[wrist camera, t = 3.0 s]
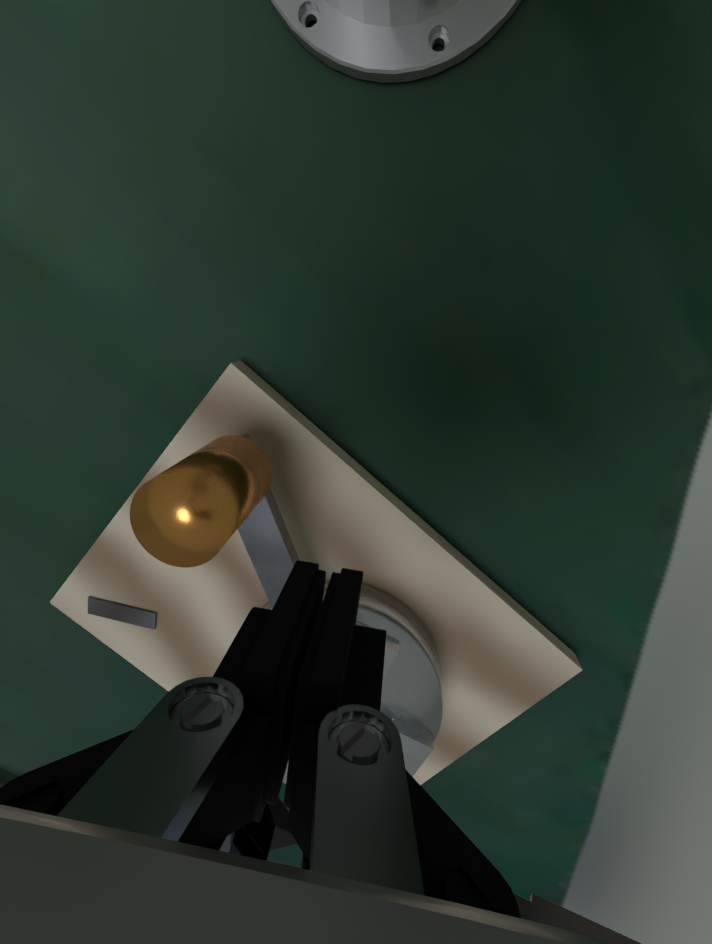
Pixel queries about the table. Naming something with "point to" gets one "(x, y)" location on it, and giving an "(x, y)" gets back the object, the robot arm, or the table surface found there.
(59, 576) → the table surface
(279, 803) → the black stand with base
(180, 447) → the birch board
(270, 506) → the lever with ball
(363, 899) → the robot arm
